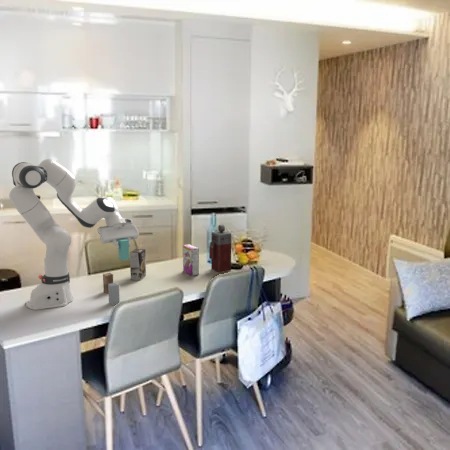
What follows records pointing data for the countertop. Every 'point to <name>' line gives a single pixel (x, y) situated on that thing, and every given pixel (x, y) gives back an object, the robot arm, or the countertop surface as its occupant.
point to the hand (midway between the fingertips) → (124, 247)
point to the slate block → (113, 293)
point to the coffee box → (138, 264)
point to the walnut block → (107, 281)
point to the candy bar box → (191, 259)
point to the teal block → (123, 249)
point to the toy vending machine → (220, 250)
